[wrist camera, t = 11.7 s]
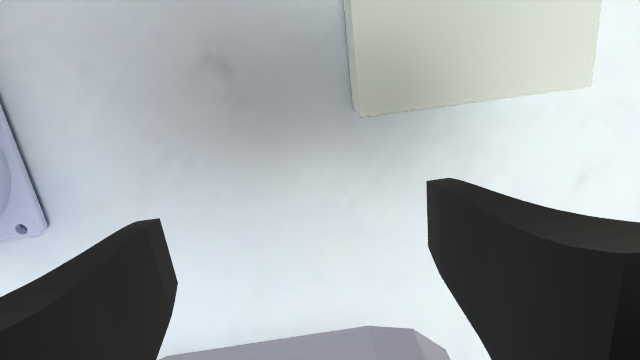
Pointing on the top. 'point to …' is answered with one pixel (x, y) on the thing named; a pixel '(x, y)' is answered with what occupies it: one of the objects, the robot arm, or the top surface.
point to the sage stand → (466, 50)
